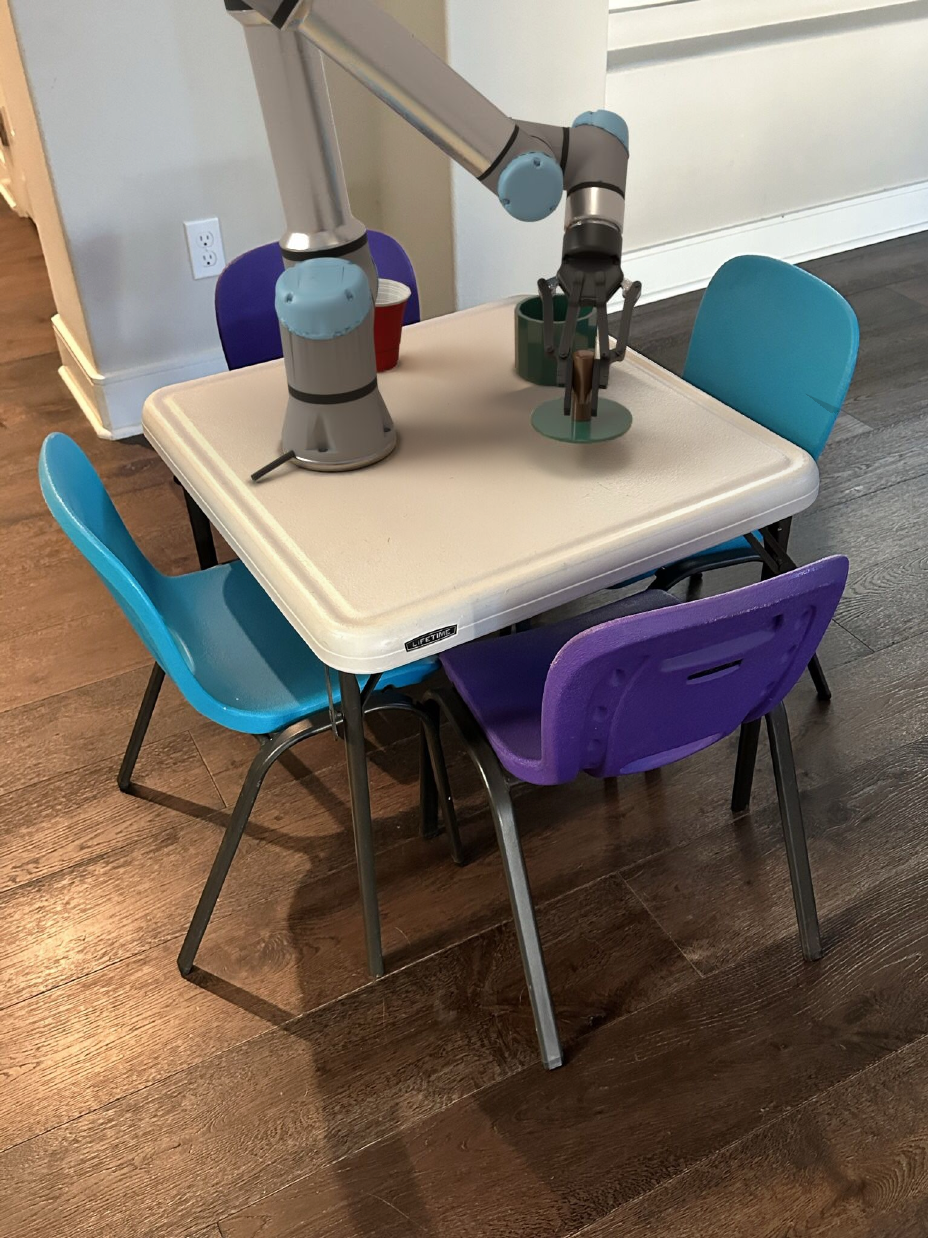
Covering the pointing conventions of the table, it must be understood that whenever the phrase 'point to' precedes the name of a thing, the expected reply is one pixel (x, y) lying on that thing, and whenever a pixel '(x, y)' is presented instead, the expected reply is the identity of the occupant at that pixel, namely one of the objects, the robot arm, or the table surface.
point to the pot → (531, 337)
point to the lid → (581, 411)
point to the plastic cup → (389, 322)
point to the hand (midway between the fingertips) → (580, 411)
